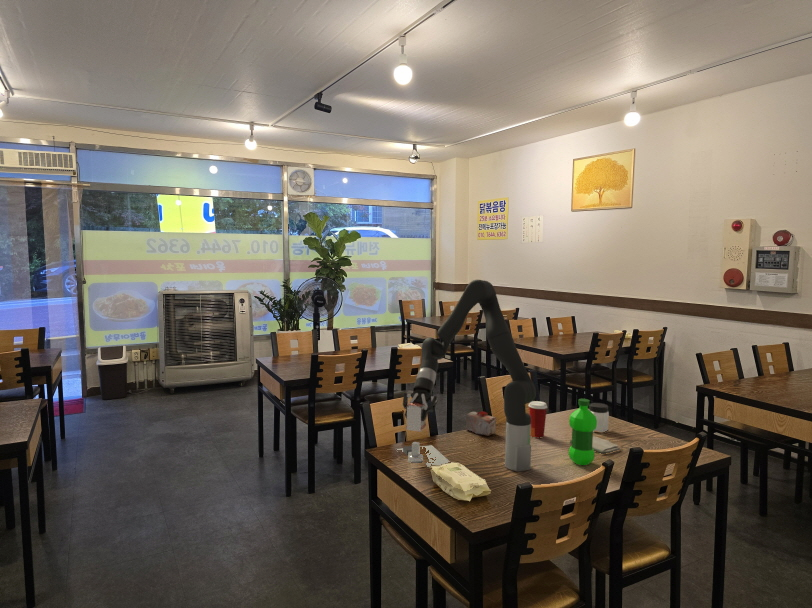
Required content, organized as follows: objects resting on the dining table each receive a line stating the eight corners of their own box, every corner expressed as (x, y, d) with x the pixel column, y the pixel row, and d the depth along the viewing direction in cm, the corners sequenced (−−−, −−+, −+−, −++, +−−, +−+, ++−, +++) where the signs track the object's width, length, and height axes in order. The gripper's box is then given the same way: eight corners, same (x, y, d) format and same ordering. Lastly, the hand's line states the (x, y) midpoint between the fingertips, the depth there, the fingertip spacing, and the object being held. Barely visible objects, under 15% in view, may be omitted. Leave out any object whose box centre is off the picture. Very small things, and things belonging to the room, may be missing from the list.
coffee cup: (548, 435, 240) (549, 402, 239) (542, 440, 233) (544, 406, 232) (530, 431, 244) (531, 399, 243) (524, 436, 238) (525, 403, 236)
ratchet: (425, 462, 204) (425, 445, 204) (410, 464, 202) (410, 446, 202) (413, 450, 217) (414, 433, 216) (399, 452, 215) (399, 435, 214)
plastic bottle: (564, 458, 212) (566, 396, 210) (590, 458, 212) (593, 397, 210) (571, 467, 202) (573, 403, 200) (599, 468, 202) (602, 403, 200)
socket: (425, 427, 207) (426, 403, 206) (420, 431, 201) (421, 407, 200) (411, 425, 209) (411, 401, 208) (406, 429, 203) (406, 405, 203)
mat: (453, 465, 203) (453, 464, 203) (413, 470, 198) (413, 469, 198) (431, 446, 224) (431, 445, 224) (395, 449, 219) (395, 449, 219)
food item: (498, 434, 241) (499, 412, 240) (489, 438, 235) (489, 416, 234) (473, 427, 250) (474, 406, 249) (463, 431, 244) (464, 410, 243)
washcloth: (604, 457, 215) (604, 449, 215) (568, 444, 230) (568, 437, 230) (622, 451, 222) (622, 444, 222) (586, 439, 237) (586, 432, 237)
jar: (601, 434, 242) (602, 408, 241) (584, 430, 248) (585, 405, 247) (610, 430, 248) (611, 405, 247) (593, 426, 254) (594, 401, 253)
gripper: (406, 374, 213) (394, 412, 203) (440, 378, 208) (430, 416, 198) (410, 385, 218) (399, 421, 208) (444, 388, 213) (434, 426, 203)
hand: (414, 419), depth 203 cm, fingers closed on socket, 5 cm apart
